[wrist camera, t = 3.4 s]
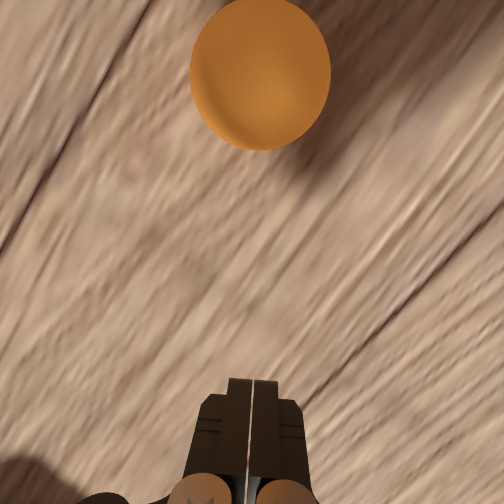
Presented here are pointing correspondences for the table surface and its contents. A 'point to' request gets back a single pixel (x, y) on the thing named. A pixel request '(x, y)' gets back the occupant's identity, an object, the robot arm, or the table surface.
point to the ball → (260, 73)
